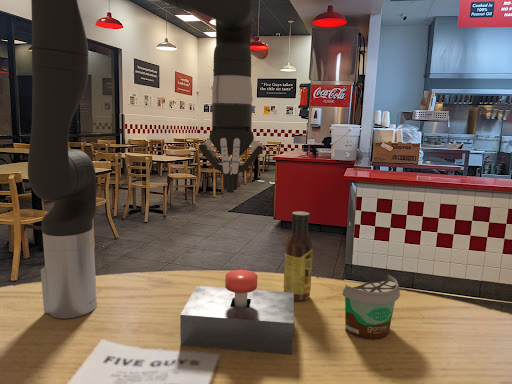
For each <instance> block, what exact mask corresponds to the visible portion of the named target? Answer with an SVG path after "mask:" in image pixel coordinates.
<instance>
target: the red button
mask: <svg viewBox="0 0 512 384" xmlns="http://www.w3.org/2000/svg"><path fill="white" fill-rule="evenodd" d="M224 277H225V279H224V284H225V285H224V286H225V287H224V288H226V289H227V290H229V291H231V292H235V302H234V307H242V308H247V293H248V292H252V291H254V290H257V289H258V274H257V273H255V272H254V271H252V270H248V269H236V270H231V271H229V272H227V273H225V276H224Z"/></svg>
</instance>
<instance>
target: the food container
mask: <svg viewBox="0 0 512 384" xmlns="http://www.w3.org/2000/svg"><path fill="white" fill-rule="evenodd" d="M344 286H345V287H343V291H342V296H343V297H344V303H345V304H344V306H345V307H344V308H345V309H344V310H345V313H344V314H345V316H344V317H345V318H344V319H345V320H344V321H345V324H344V325H345V327H344V328H345V329H344V330H345V332H346V333H348V334H349V335H350V336H353V337H356V338H359V339H363V340H371V341H374V340H383V339H384V338H386V337H387V336H388V335H389V333H390V329H391V324H392V318H393V313H394V309H395V302H396V301H397V300H399V298H400V296H401V292H400V286H399V283H398V281H397V279H396V278H394V277H392V276H391V275H389V274H388V275H387V279H384V280H381V281H369V282H365V283H362V284H360V285H358V286H354V287H352V286H349V285H348V284H345V285H344Z"/></svg>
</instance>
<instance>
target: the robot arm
mask: <svg viewBox="0 0 512 384" xmlns="http://www.w3.org/2000/svg"><path fill="white" fill-rule="evenodd" d="M160 1H162V2H163V3H166V4H168V5H170V6H173V7H175V8H177V9H180V10H183V11H185V12H190V13H192V12H198V13H200V14H201V15H203V16H207V17H209V18H211V19H215V44H216V45H215V48H214V50H213V78H212V81H213V82H212V89H211V121H212V122H211V132H210V134H209V139H207V140H206V141H204V142H203V143H200V144H199V145H198V149H199V150H200V152H201V153H202V155H203V156H204V157H205V158H206V159H207V161H208V162H209V163H210V165H211V167H212V168H213V169H214V170H215V171H219V172H221V173H222V175H223V190H226V193H230V194H231V193H232V194H234V193H235V192H236V191H237V190H238V189H239V186H240V183H239V182H240V181H239V180H240V179H239V178H240V173H242V172H247V170H248V169H249V168H250V166H251V165H252V164H253V163H254V162H255V161H256V159H257V158H258V157H259V155H260V154H261V153H263V151H264V148H265V147H264V146H263V145H262V144H260V143H259V142H258V141H256V140H255V136H254V133H253V132H252V116H253V115H252V113H253V112H252V111H253V100H254V99H253V87H252V86H253V84H252V52H251V51H252V50H251V42H252V27H253V26H252V25H253V0H160ZM84 25H85V24H84V23H83V18H82V15H81V10H80V7H79V3H78V0H31V74H32V75H31V77H32V78H31V79H32V95H31V96H32V103H31V104H32V105H31V108H32V109H31V127H30V128H31V130H30V138H29V147H28V157H27V179H28V183H29V185H30V188H31V190H32V192H33V193H34V195H36V196H37V197H38V198H40V199H41V200H43V201H48V202H51V201H55V202H54V204H53V206H51V207H52V208H51V209H50V210H49V211H48V212H47V213H46V214H45V215H44V216H43V217H42V219H41V233H42V243H43V245H42V246H43V254H44V266H43V267H42V268H41V269H40V279H41V280H40V281H41V292H42V304H43V313H44V314H49V315H50V316H51V317H53V318H54V319H55V318H56V319H74V318H78V317H82V316H85V315H87V314H89V313H91V312H92V311H94V310H95V308H96V307H97V306H98V303H97V302H98V301H97V298H98V295H97V282H96V281H97V280H96V279H97V278H96V262H95V261H96V259H95V258H96V257H95V242H94V227H93V225H94V223H93V222H94V217H95V215H96V212H97V176H96V174H97V173H96V168H95V165H94V162H93V160H92V159H91V157H90V156H89V155H88V154H87V153H86V152H84V151H83V150H79V149H74V148H70V149H69V135H70V134H69V133H70V129H71V128H70V126H71V122H72V120H73V118H74V115H75V113H76V111H77V109H78V107H79V105H80V103H81V100H82V99H83V98H84V94H85V92H86V89H87V86H88V80H89V44H88V39H87V34H86V30H85V26H84ZM250 145H251V147H250ZM249 147H250V152H251V154H250V155H249V156H248V158H247V159H246V160H245V161H244V163H242V164H241V160H242V157H241V156H242V155H243V154H245V152H246V151H247V150H248V148H249ZM214 148H215V149H216V151H217V152H218V153H219V154H220V155H221V161H220V159H219V158H218V157H217V156H216V154H215V153H214V152H213V150H214ZM231 157H232V158H231ZM231 160H232V162H231ZM221 162H222V163H221Z"/></svg>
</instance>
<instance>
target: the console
mask: <svg viewBox="0 0 512 384" xmlns="http://www.w3.org/2000/svg"><path fill="white" fill-rule="evenodd" d="M234 302H235V292H231V291H229V290H227V289H226V287H220V286H219V287H218V286H207V285H206V286H204V285H196V287H195V288H194V289H193V292H192V294H191V295H190V296H189V299H188V300H187V302H186V304H185V305H184V308H183V309H182V311H181V313H180V315H179V317H180V321H179V323H180V324H179V325H180V331H179V332H180V346H183V347H184V346H185V347H195V348H196V347H197V348H209V349H222V350H232V351H233V350H234V351H244V352H245V351H246V352H259V353H269V354H270V353H271V354H284V355H293V347H294V346H293V341H294V328H295V327H294V326H295V325H294V322H295V321H294V320H295V317H294V315H295V314H294V312H295V311H294V309H295V307H294V306H295V304H294V303H295V301H294V292H284V291H277V290H265V289H263V290H262V289H255V290H254V291H252V292H248V293H247V308H242V307H234Z"/></svg>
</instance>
